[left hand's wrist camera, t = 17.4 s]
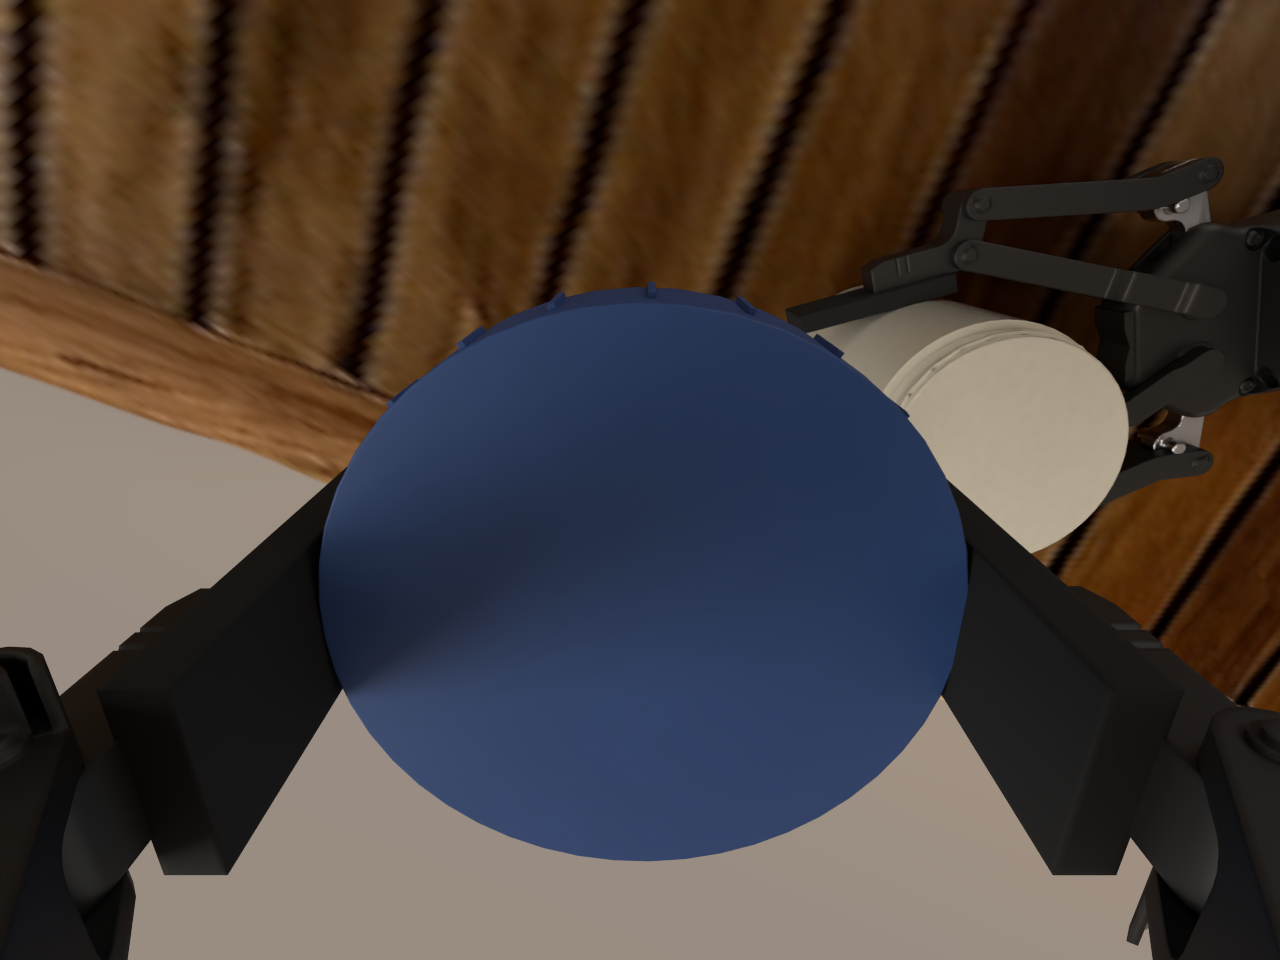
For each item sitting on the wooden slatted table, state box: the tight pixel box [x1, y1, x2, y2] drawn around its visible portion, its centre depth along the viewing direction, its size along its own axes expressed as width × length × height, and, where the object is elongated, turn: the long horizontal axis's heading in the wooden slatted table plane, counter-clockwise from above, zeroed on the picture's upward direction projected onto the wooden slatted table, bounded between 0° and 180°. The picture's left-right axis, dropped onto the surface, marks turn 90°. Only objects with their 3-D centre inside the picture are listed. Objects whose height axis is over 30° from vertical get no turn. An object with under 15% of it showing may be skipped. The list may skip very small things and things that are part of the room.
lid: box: [319, 282, 969, 861], centre depth 11 cm, size 10×10×2 cm
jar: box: [806, 285, 1129, 553], centre depth 30 cm, size 9×9×15 cm
